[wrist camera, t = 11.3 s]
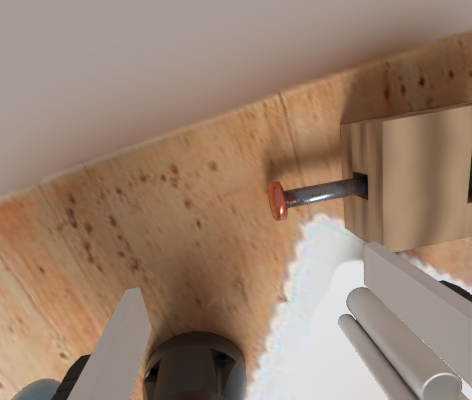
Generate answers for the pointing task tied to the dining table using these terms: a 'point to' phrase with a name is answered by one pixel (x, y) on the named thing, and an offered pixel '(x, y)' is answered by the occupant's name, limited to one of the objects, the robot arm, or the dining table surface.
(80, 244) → the dining table surface
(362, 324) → the vase
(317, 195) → the lock pin
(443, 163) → the dock
